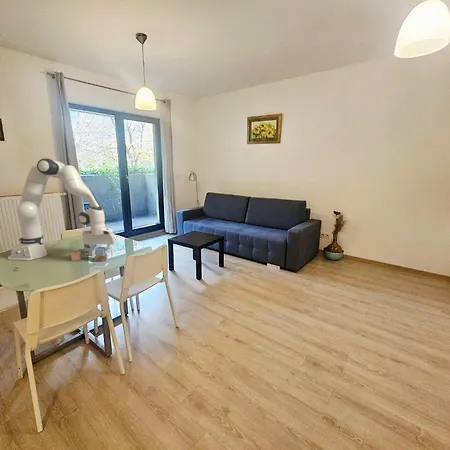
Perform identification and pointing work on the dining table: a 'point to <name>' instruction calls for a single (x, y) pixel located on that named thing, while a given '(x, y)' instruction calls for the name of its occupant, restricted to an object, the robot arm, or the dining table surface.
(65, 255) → the dining table surface
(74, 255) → the terracotta block
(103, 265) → the tile
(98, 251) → the slate block
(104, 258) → the walnut block
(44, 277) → the dining table surface
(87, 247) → the light bulb box
